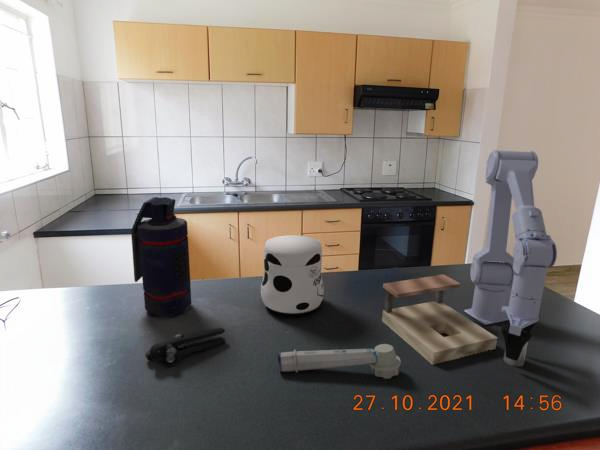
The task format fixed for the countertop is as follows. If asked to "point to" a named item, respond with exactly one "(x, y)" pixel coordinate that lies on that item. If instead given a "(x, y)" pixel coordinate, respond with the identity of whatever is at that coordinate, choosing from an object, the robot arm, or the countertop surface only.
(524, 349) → the steel peg
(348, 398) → the countertop surface
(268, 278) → the milk container
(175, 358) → the can opener
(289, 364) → the toothbrush head
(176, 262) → the grenade
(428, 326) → the socket block
